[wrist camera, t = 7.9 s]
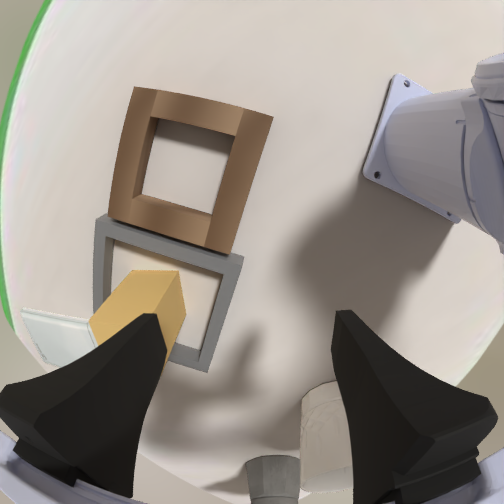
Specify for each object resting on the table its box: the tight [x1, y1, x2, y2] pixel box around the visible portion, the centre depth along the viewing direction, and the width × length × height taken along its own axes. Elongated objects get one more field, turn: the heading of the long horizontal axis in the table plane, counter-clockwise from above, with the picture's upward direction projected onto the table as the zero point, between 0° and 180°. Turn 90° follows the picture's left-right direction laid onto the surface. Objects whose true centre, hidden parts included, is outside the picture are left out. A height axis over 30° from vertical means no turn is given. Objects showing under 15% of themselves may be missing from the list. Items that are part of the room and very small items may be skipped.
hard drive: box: [20, 307, 98, 368], centre depth 25 cm, size 2×8×12 cm
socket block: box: [108, 87, 274, 255], centre depth 17 cm, size 9×9×2 cm
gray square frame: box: [93, 214, 244, 373], centre depth 21 cm, size 11×11×2 cm
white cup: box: [300, 381, 353, 493], centre depth 21 cm, size 8×8×10 cm
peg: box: [88, 270, 186, 375], centre depth 18 cm, size 4×4×7 cm
